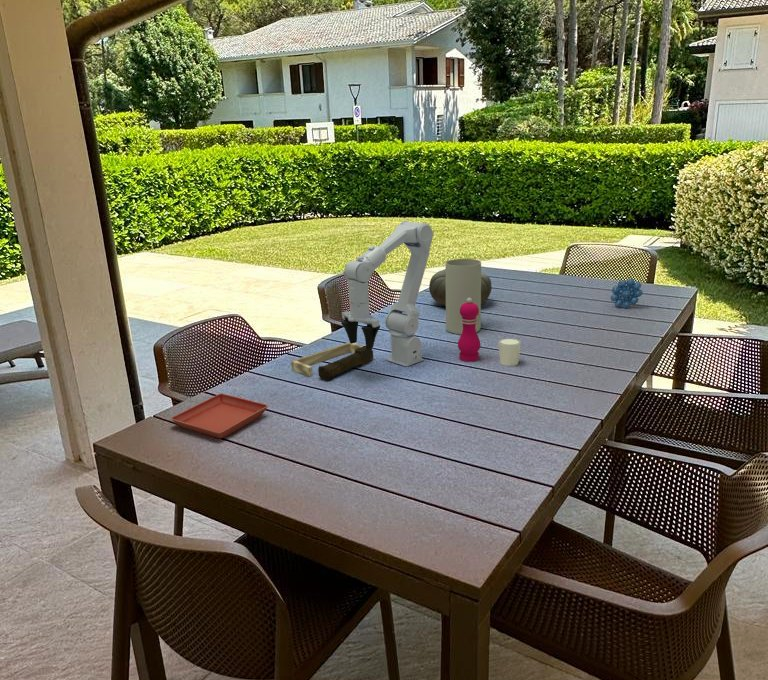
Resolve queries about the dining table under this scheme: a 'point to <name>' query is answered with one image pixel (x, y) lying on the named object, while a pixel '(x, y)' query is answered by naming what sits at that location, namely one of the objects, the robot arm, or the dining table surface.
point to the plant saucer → (220, 415)
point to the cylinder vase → (462, 291)
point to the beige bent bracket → (321, 357)
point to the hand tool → (346, 363)
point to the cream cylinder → (509, 351)
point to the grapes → (626, 293)
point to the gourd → (439, 287)
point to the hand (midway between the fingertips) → (361, 345)
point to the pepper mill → (469, 332)
